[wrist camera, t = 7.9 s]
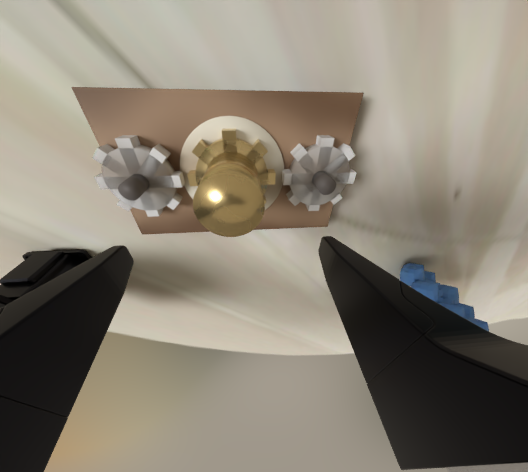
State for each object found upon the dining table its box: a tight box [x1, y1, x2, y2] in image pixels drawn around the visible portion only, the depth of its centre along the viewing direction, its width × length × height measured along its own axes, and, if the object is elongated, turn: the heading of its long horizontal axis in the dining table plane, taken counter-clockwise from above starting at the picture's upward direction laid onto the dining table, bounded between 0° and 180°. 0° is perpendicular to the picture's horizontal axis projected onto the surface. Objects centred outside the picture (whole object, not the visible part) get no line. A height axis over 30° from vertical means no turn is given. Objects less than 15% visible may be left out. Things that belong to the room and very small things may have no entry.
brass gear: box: [187, 129, 276, 237], centre depth 14 cm, size 7×7×6 cm
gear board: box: [72, 87, 363, 234], centre depth 16 cm, size 12×21×4 cm, turn 89°
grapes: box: [400, 263, 489, 331], centre depth 25 cm, size 12×7×12 cm, turn 57°
